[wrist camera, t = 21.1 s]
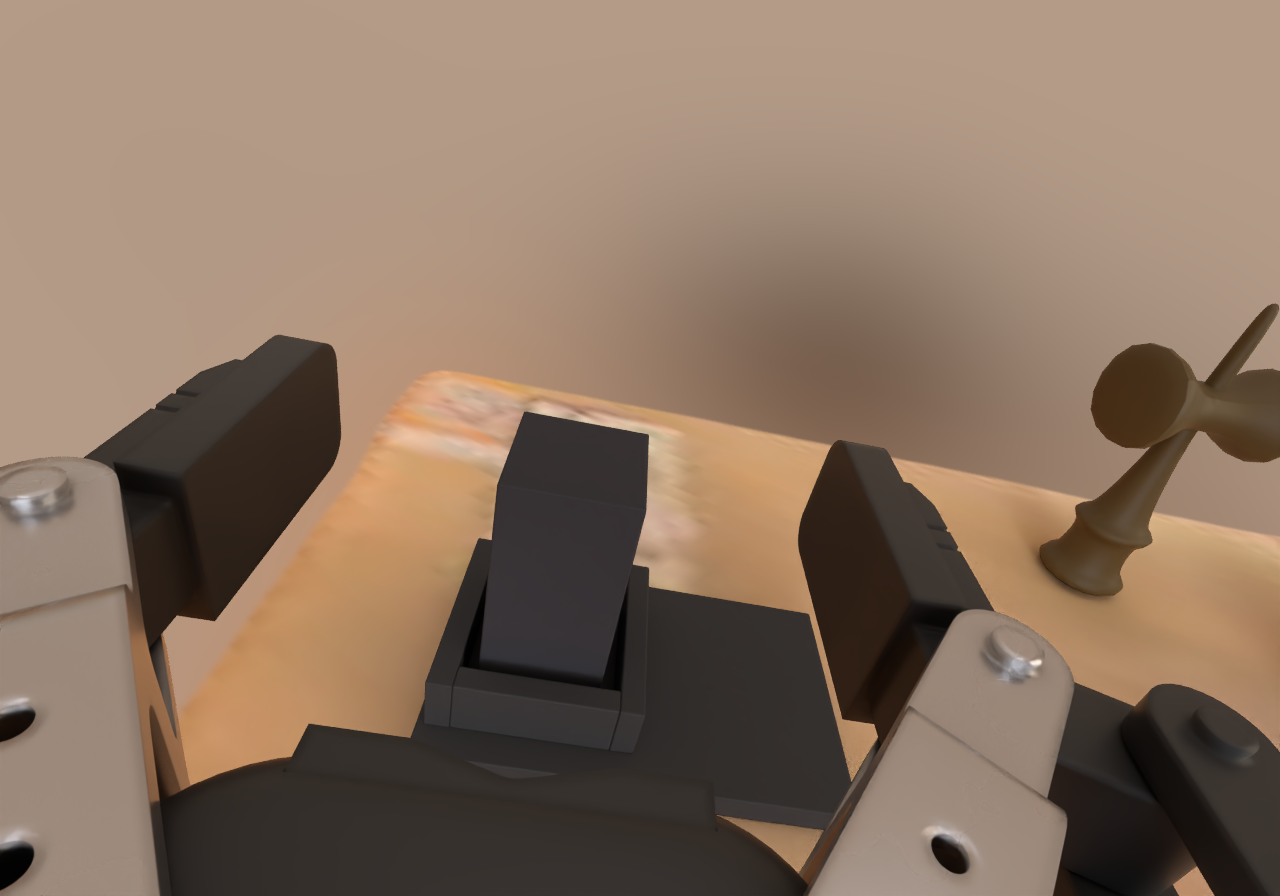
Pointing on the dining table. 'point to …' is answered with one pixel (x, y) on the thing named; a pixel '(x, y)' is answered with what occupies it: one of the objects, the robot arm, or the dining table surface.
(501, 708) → the base pad
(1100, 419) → the kendama
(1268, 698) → the dining table surface
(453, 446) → the dining table surface
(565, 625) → the post
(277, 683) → the dining table surface
